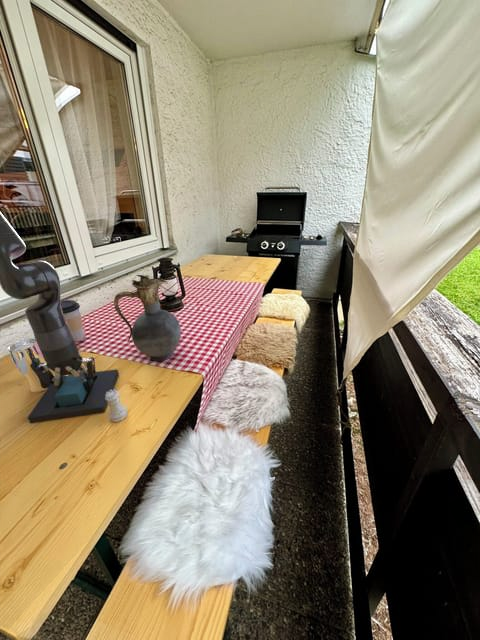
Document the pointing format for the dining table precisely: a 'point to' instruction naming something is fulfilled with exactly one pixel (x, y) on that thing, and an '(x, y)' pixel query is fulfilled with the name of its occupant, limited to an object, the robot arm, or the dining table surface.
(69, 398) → the block
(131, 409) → the dining table surface
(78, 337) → the coffee cup
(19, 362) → the beer glass
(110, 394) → the rook chess piece
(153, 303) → the pitcher
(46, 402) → the dark grey rectangular frame
